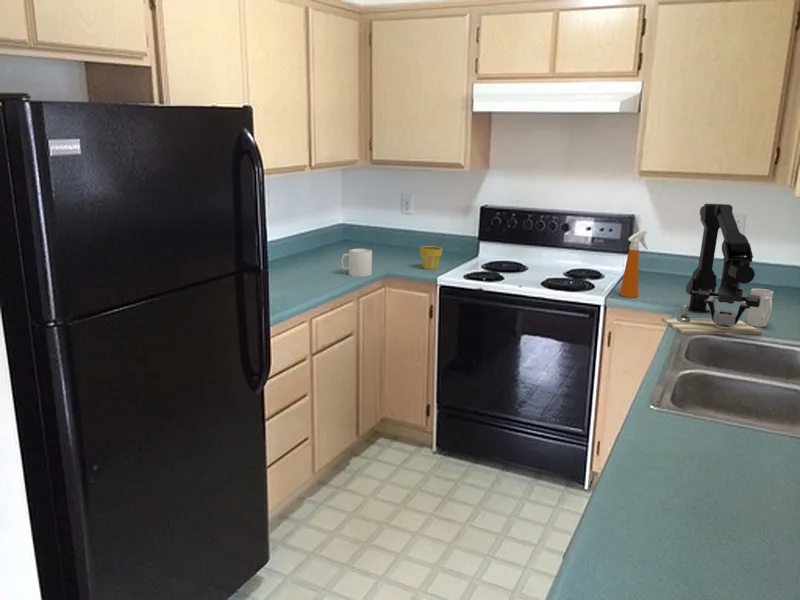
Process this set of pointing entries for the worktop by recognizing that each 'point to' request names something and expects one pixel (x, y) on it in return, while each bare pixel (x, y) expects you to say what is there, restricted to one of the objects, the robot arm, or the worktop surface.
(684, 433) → the worktop surface
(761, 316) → the mug
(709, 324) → the board
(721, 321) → the grey square frame
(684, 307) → the stand
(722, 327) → the hub
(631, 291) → the spray bottle
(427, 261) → the plant pot
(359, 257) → the mug
